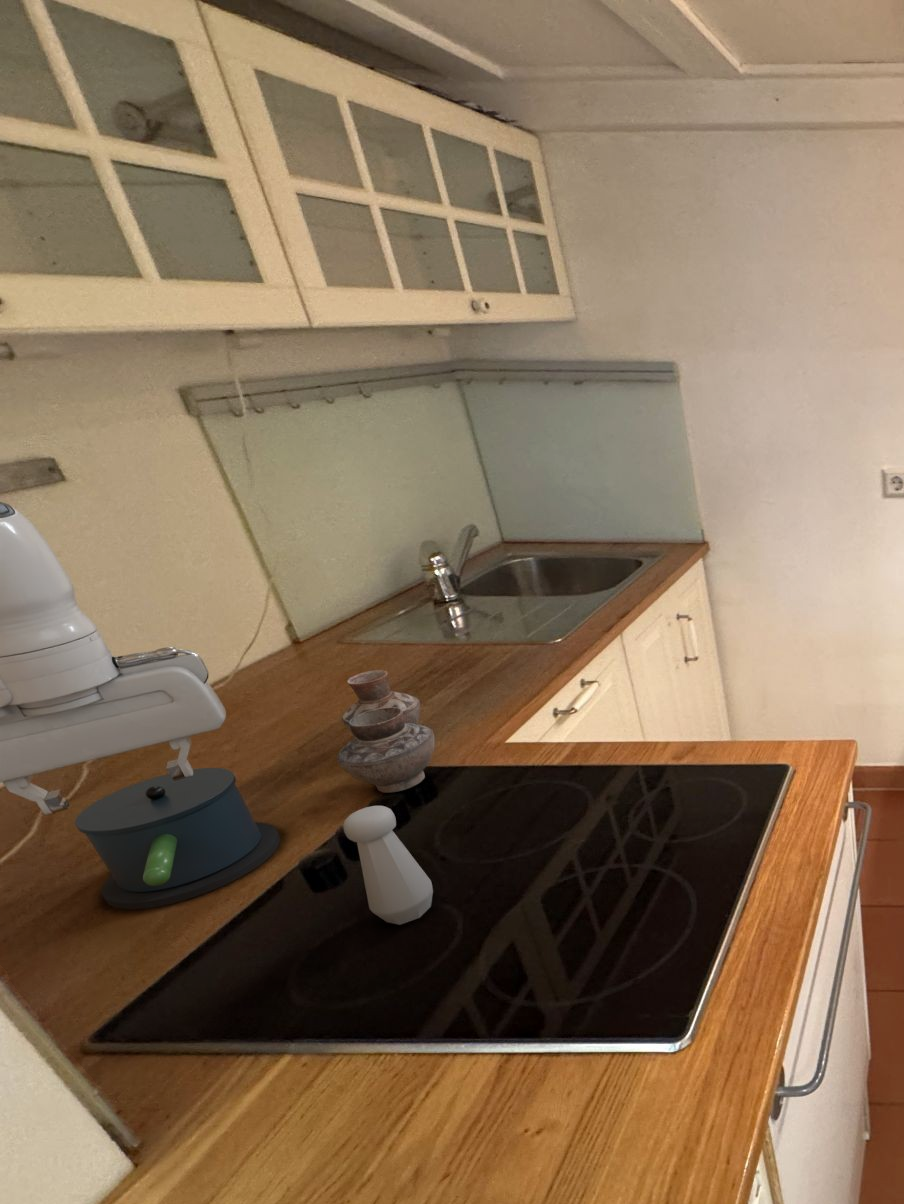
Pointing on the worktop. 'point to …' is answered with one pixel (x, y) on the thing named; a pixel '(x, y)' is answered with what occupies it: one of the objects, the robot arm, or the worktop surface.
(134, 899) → the trivet
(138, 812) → the pot
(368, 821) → the salt shaker
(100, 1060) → the worktop surface
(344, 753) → the pottery
